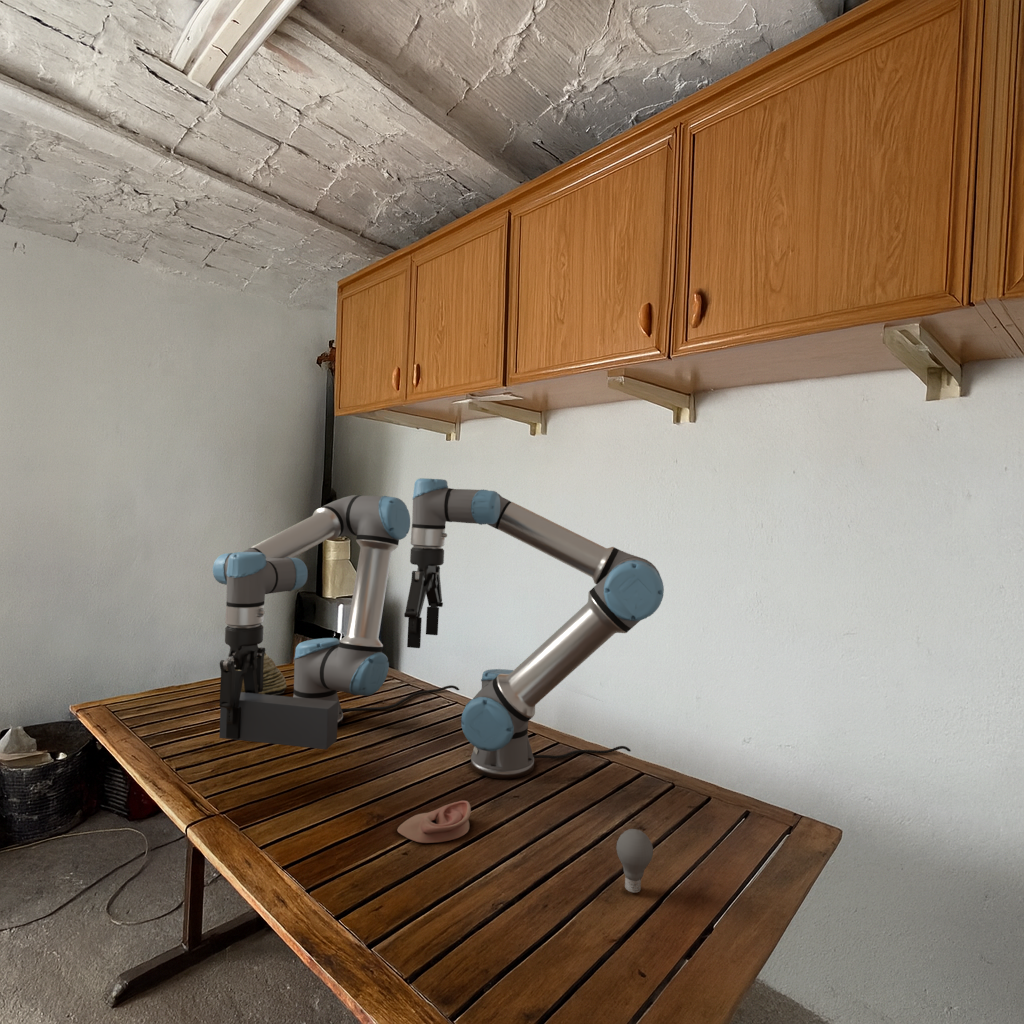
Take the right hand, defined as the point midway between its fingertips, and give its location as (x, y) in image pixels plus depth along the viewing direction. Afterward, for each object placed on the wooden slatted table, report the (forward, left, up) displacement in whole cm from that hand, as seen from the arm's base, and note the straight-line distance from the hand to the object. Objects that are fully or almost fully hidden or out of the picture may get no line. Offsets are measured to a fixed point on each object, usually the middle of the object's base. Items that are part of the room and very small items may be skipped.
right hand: (423, 640), depth 143 cm
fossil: (+28, -75, -32) cm, 86 cm away
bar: (+30, -5, -20) cm, 36 cm away
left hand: (+37, -10, -20) cm, 43 cm away
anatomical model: (+4, +22, -32) cm, 39 cm away
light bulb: (-20, +53, -32) cm, 65 cm away
